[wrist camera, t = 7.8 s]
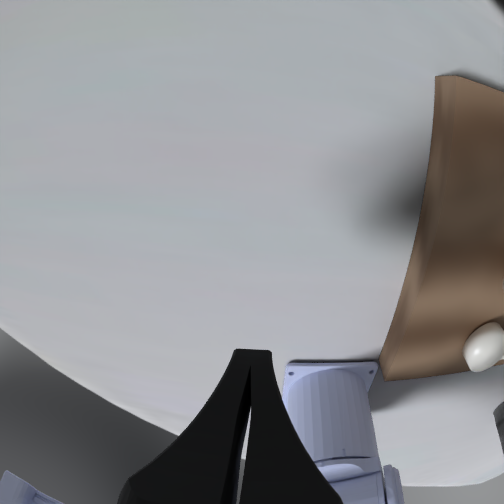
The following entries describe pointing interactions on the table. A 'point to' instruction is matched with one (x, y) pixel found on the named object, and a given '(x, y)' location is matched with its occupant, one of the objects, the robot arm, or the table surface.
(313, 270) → the table surface
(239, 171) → the table surface
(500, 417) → the beverage cup
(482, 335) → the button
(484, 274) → the button board
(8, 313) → the table surface
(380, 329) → the table surface
